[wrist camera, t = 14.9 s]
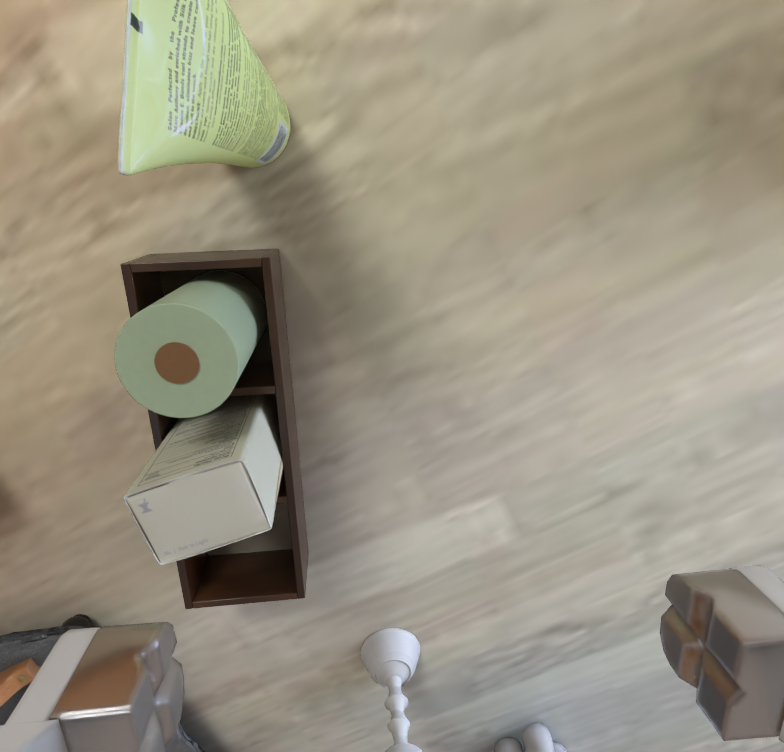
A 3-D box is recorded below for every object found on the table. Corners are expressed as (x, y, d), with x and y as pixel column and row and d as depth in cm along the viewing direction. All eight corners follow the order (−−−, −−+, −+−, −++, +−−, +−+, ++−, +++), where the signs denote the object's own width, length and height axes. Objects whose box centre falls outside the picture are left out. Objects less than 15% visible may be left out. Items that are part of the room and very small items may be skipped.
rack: (279, 248, 35) (270, 257, 30) (308, 553, 42) (305, 598, 38) (149, 254, 34) (120, 263, 30) (202, 562, 42) (185, 609, 37)
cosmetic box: (209, 459, 39) (155, 570, 28) (183, 404, 38) (116, 497, 26) (293, 434, 39) (274, 534, 28) (271, 377, 38) (242, 458, 26)
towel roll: (262, 268, 35) (230, 300, 25) (271, 352, 37) (245, 415, 27) (172, 272, 35) (101, 306, 24) (186, 356, 37) (125, 422, 26)
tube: (181, 95, 32) (-36, -39, 13) (254, 47, 31) (136, -162, 13) (238, 185, 34) (118, 176, 15) (309, 140, 33) (273, 75, 15)
